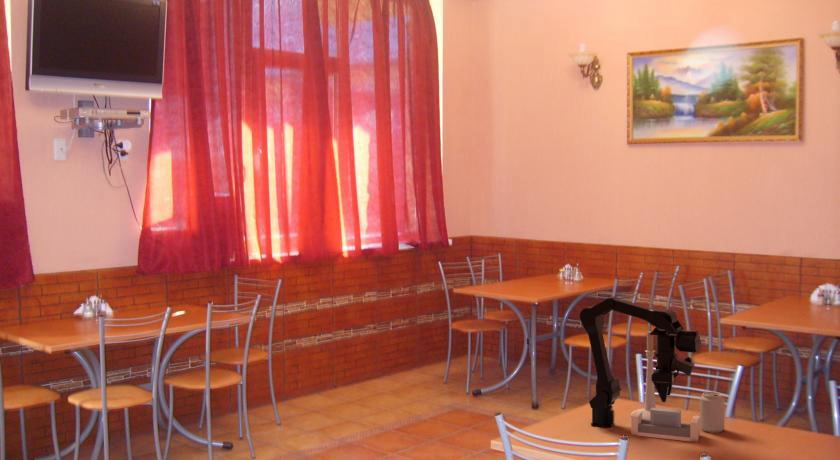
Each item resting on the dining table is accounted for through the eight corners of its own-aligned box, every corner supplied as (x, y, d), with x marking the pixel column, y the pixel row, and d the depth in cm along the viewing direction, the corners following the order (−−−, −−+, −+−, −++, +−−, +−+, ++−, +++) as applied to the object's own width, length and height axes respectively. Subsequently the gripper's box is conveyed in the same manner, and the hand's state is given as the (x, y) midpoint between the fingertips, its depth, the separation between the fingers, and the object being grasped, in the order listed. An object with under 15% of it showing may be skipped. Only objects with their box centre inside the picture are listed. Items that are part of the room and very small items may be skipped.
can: (726, 434, 265) (726, 396, 264) (701, 433, 266) (701, 395, 265) (722, 427, 272) (722, 391, 271) (698, 426, 273) (698, 390, 273)
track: (631, 434, 265) (631, 416, 265) (636, 428, 272) (636, 409, 272) (697, 442, 257) (697, 422, 256) (700, 434, 264) (700, 416, 264)
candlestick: (636, 422, 279) (636, 333, 277) (626, 412, 291) (626, 327, 290) (674, 422, 279) (674, 333, 277) (662, 411, 292) (663, 326, 290)
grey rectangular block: (650, 431, 265) (650, 409, 265) (651, 428, 268) (651, 407, 267) (679, 434, 261) (679, 412, 261) (681, 432, 264) (681, 410, 264)
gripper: (688, 357, 251) (688, 408, 252) (696, 346, 268) (696, 394, 269) (651, 354, 256) (651, 404, 257) (660, 344, 273) (660, 391, 274)
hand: (666, 398), depth 264 cm, fingers open, 9 cm apart
